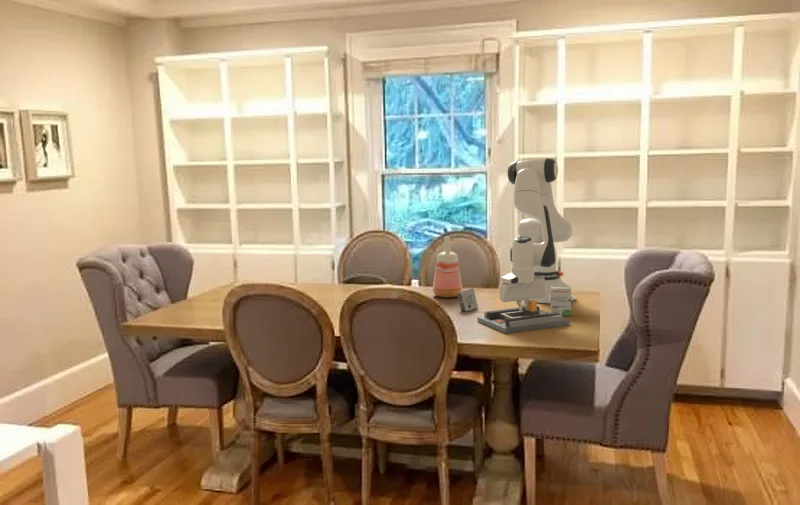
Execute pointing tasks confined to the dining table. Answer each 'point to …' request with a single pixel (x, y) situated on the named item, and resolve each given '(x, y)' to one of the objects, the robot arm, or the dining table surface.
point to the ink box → (561, 300)
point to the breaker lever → (531, 308)
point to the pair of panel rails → (524, 320)
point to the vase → (447, 273)
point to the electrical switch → (467, 300)
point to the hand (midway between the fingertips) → (522, 310)
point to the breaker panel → (502, 327)
